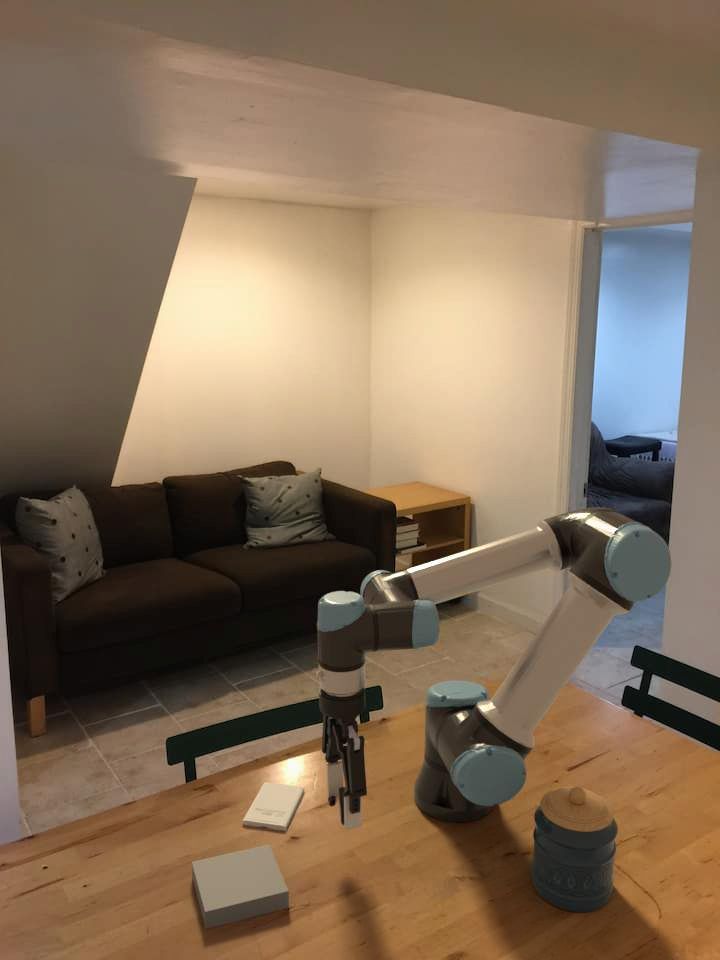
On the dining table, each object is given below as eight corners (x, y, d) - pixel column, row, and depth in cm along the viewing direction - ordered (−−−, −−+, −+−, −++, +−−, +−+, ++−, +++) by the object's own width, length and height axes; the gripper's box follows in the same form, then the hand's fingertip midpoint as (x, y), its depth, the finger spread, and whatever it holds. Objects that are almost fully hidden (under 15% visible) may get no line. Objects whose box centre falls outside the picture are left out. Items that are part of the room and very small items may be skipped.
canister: (599, 926, 125) (607, 823, 121) (518, 894, 132) (524, 795, 128) (621, 877, 136) (630, 781, 132) (546, 849, 142) (552, 757, 139)
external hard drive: (304, 794, 159) (285, 833, 147) (264, 789, 161) (242, 827, 149) (304, 787, 159) (285, 825, 147) (264, 781, 160) (242, 819, 148)
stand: (269, 859, 139) (269, 844, 139) (288, 907, 128) (288, 890, 128) (192, 877, 135) (191, 861, 134) (205, 929, 124) (205, 911, 123)
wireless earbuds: (354, 800, 141) (354, 783, 141) (358, 826, 134) (357, 808, 134) (327, 802, 141) (327, 785, 140) (329, 827, 134) (329, 810, 133)
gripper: (301, 664, 141) (304, 783, 146) (341, 721, 122) (343, 855, 127) (342, 657, 144) (344, 774, 148) (388, 711, 125) (388, 843, 130)
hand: (343, 811), depth 138 cm, fingers closed on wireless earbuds, 8 cm apart
